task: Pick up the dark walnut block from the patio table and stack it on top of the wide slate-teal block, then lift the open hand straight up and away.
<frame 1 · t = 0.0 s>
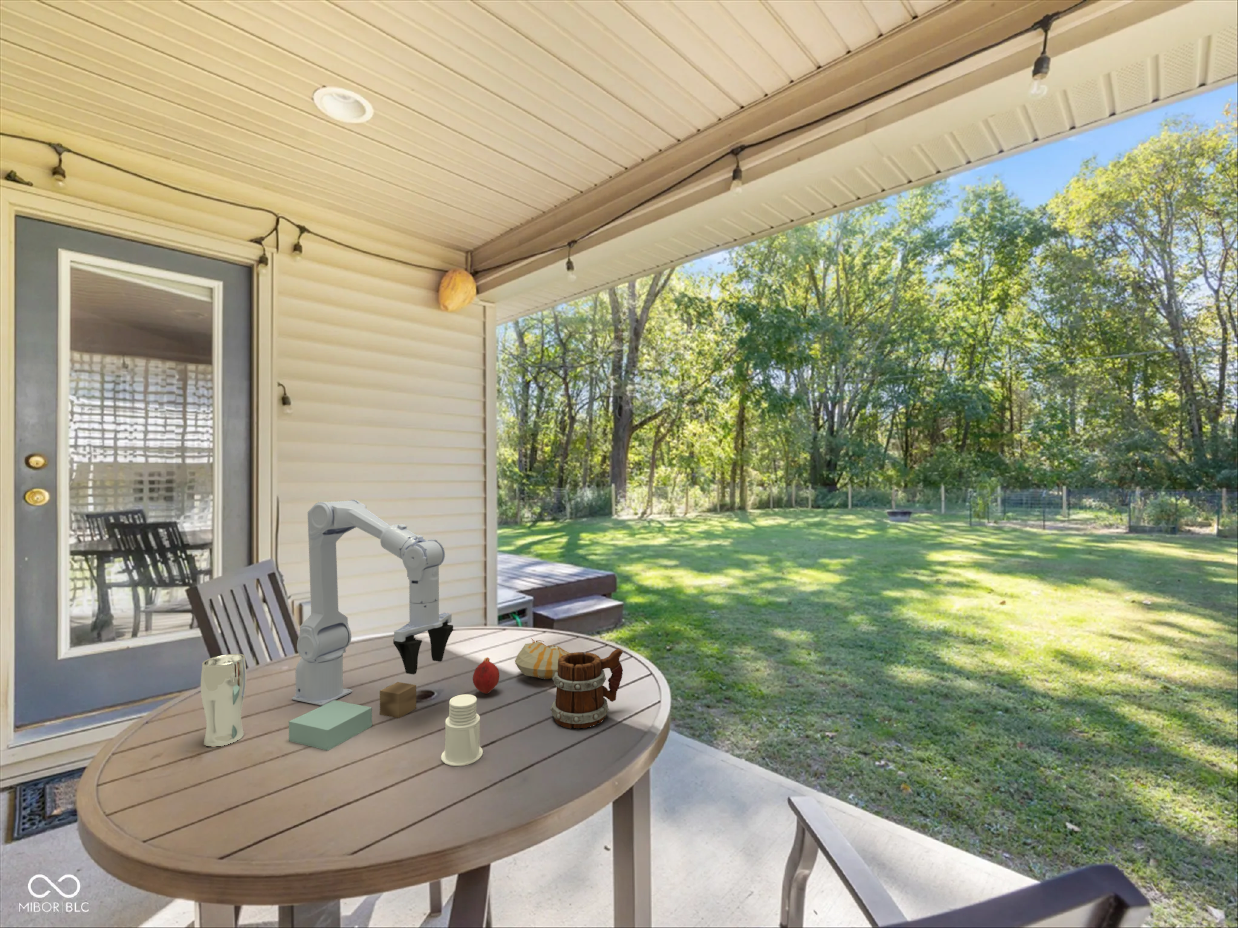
hand: (424, 666, 111), 10 cm above the table, tool pointing down, fingers open, 7 cm apart
riser block: (331, 735, 104), on the table
beer glass: (223, 740, 102), on the table
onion: (486, 694, 122), on the table
mug: (587, 716, 111), on the table
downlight: (462, 756, 96), on the table
walnut block: (398, 711, 114), on the table
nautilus: (544, 673, 135), on the table
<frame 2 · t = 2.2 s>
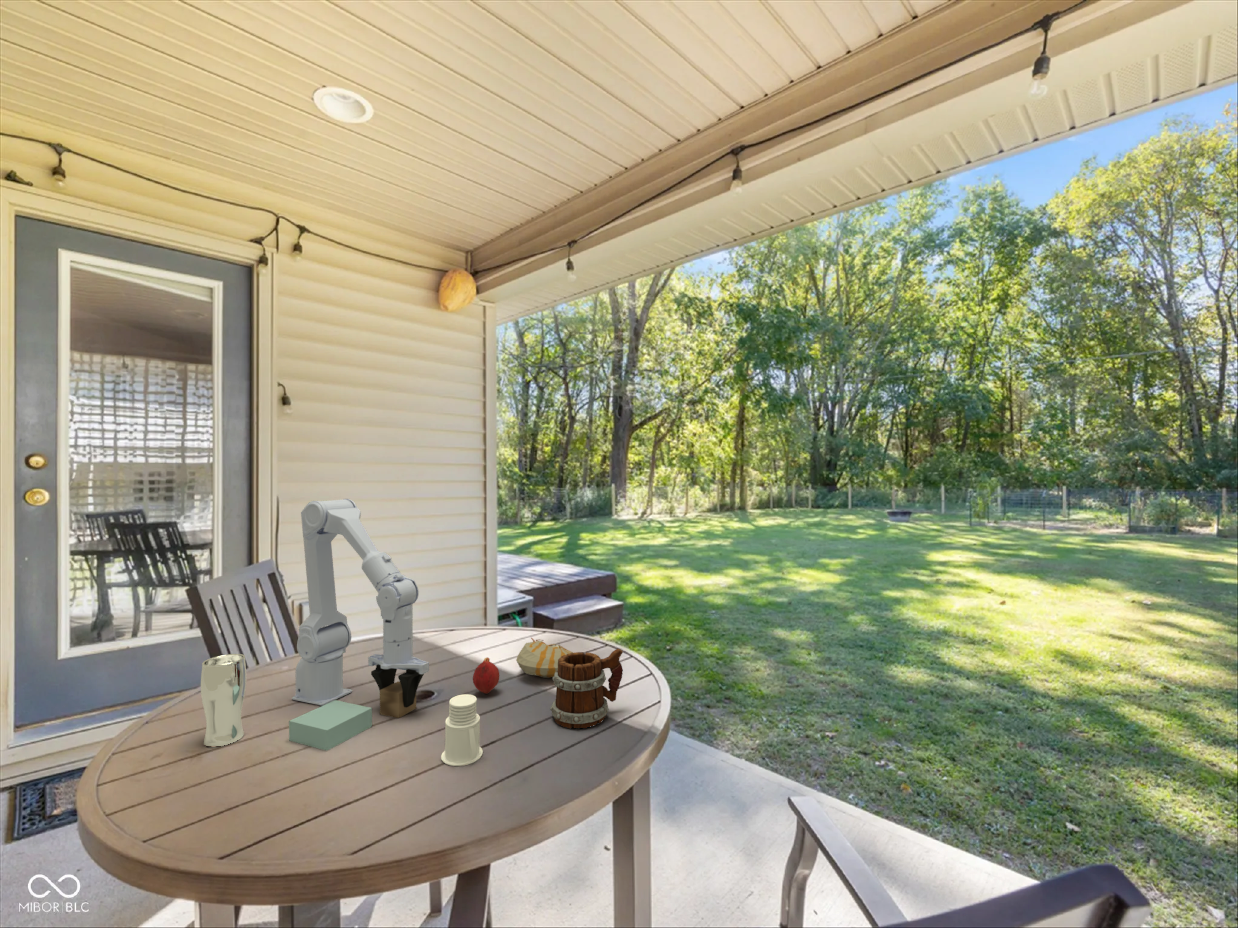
hand: (398, 703, 114), 2 cm above the table, tool pointing down, fingers closed on walnut block, 5 cm apart
walnut block: (398, 711, 114), on the table, touching gripper
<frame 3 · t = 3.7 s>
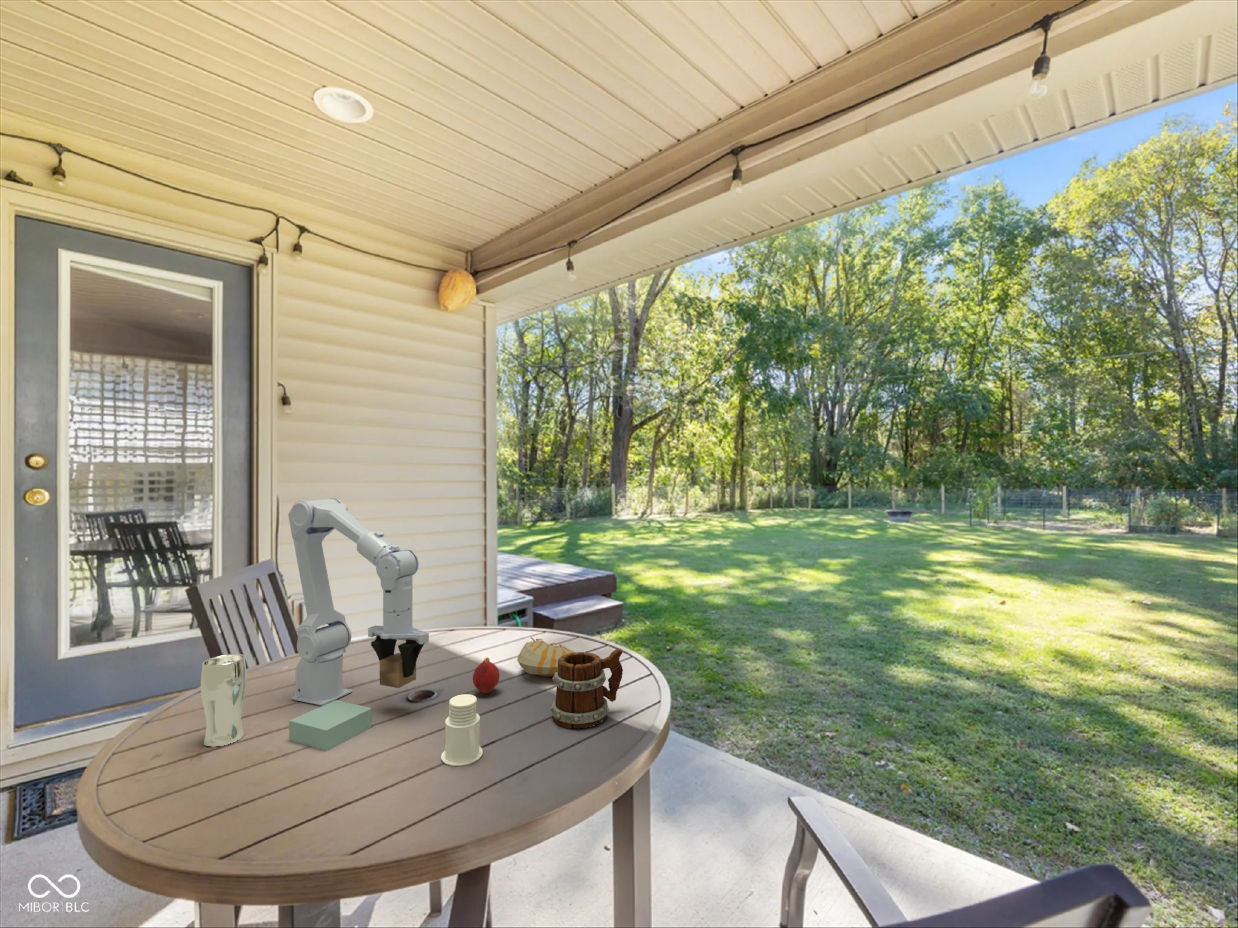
hand: (398, 674, 114), 8 cm above the table, tool pointing down, fingers closed on walnut block, 5 cm apart
walnut block: (398, 681, 114), point 6 cm above the table, touching gripper
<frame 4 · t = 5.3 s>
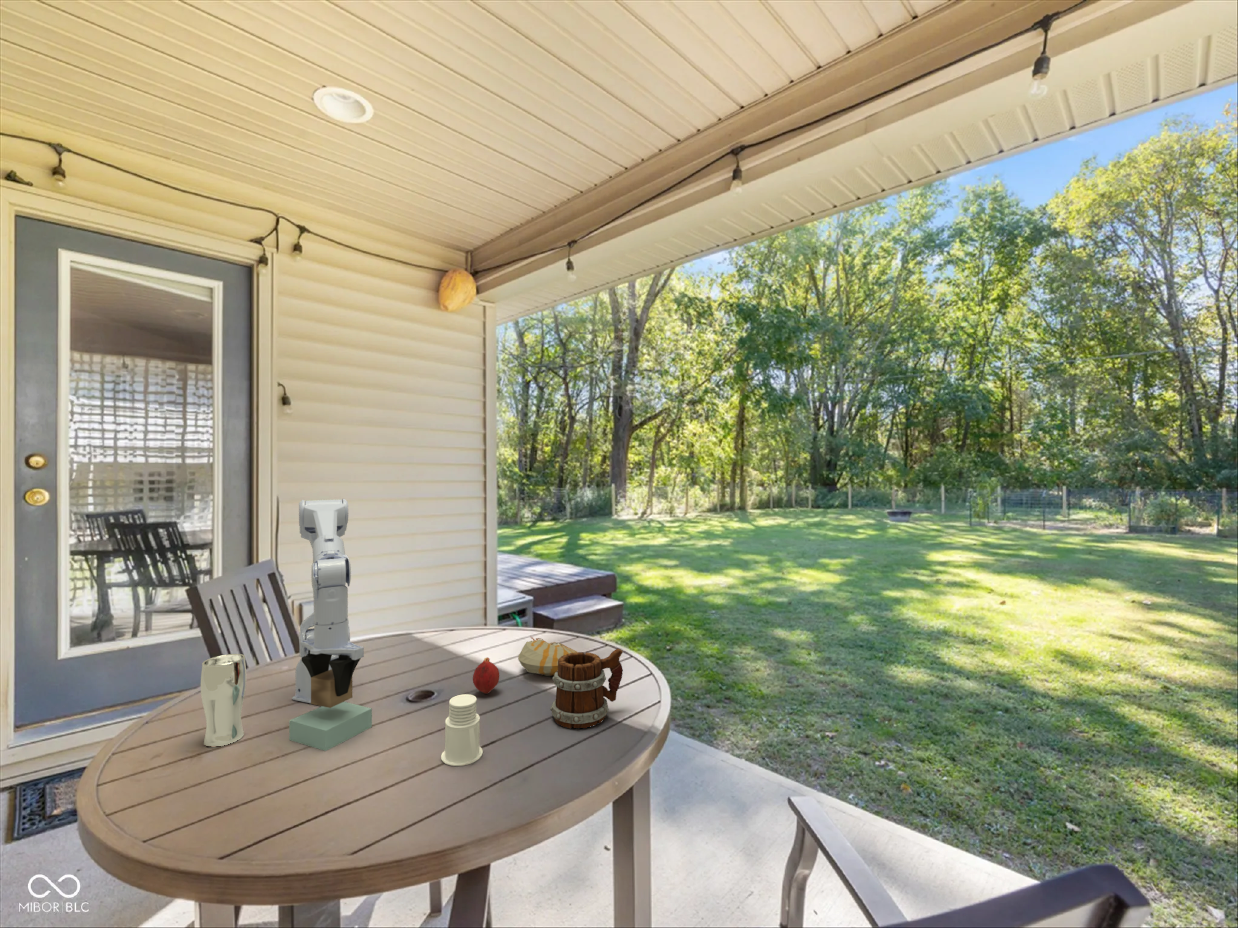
hand: (331, 692, 104), 8 cm above the table, tool pointing down, fingers closed on walnut block, 5 cm apart
walnut block: (331, 700, 105), point 6 cm above the table, touching gripper
when the fingers open (7 cm above the table, at t = 6.4 s): walnut block drops 2 cm, resting on riser block.
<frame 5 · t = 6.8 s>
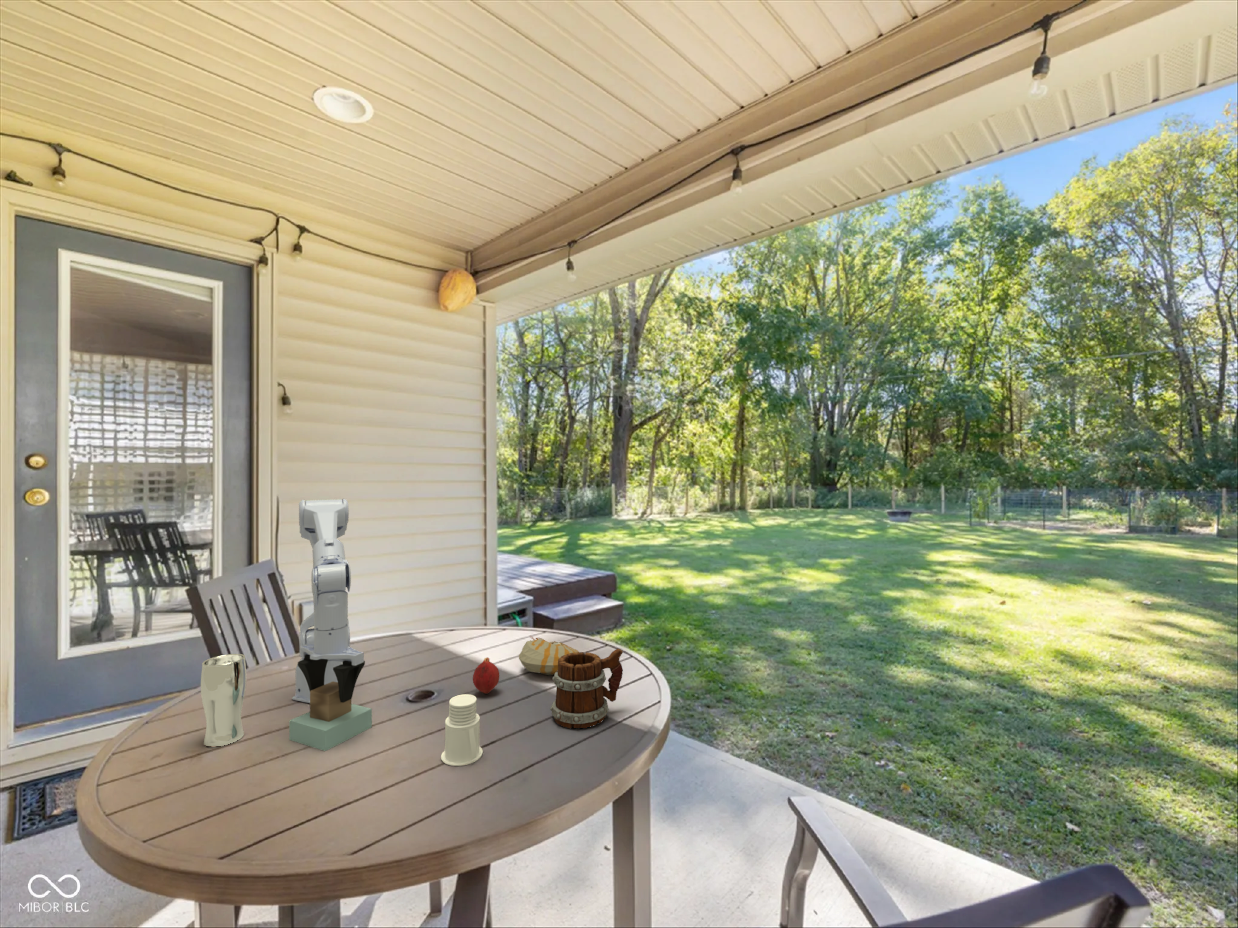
hand: (331, 697, 104), 7 cm above the table, tool pointing down, fingers open, 7 cm apart
riser block: (331, 735, 104), on the table, touching walnut block
walnut block: (330, 713, 105), point 4 cm above the table, touching riser block
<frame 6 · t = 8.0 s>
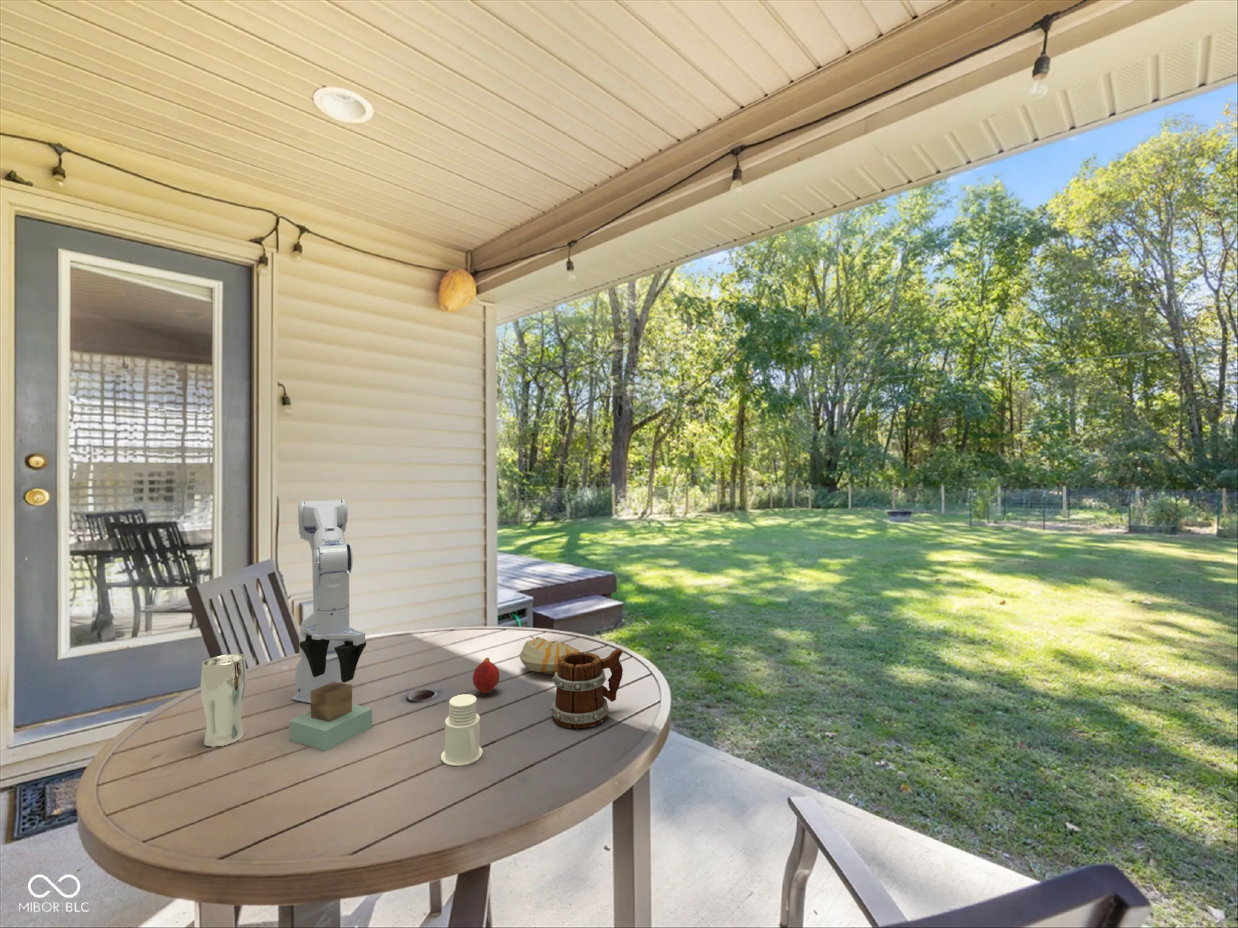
hand: (333, 677, 105), 10 cm above the table, tool pointing down, fingers open, 7 cm apart
riser block: (331, 735, 104), on the table
walnut block: (331, 714, 104), point 4 cm above the table
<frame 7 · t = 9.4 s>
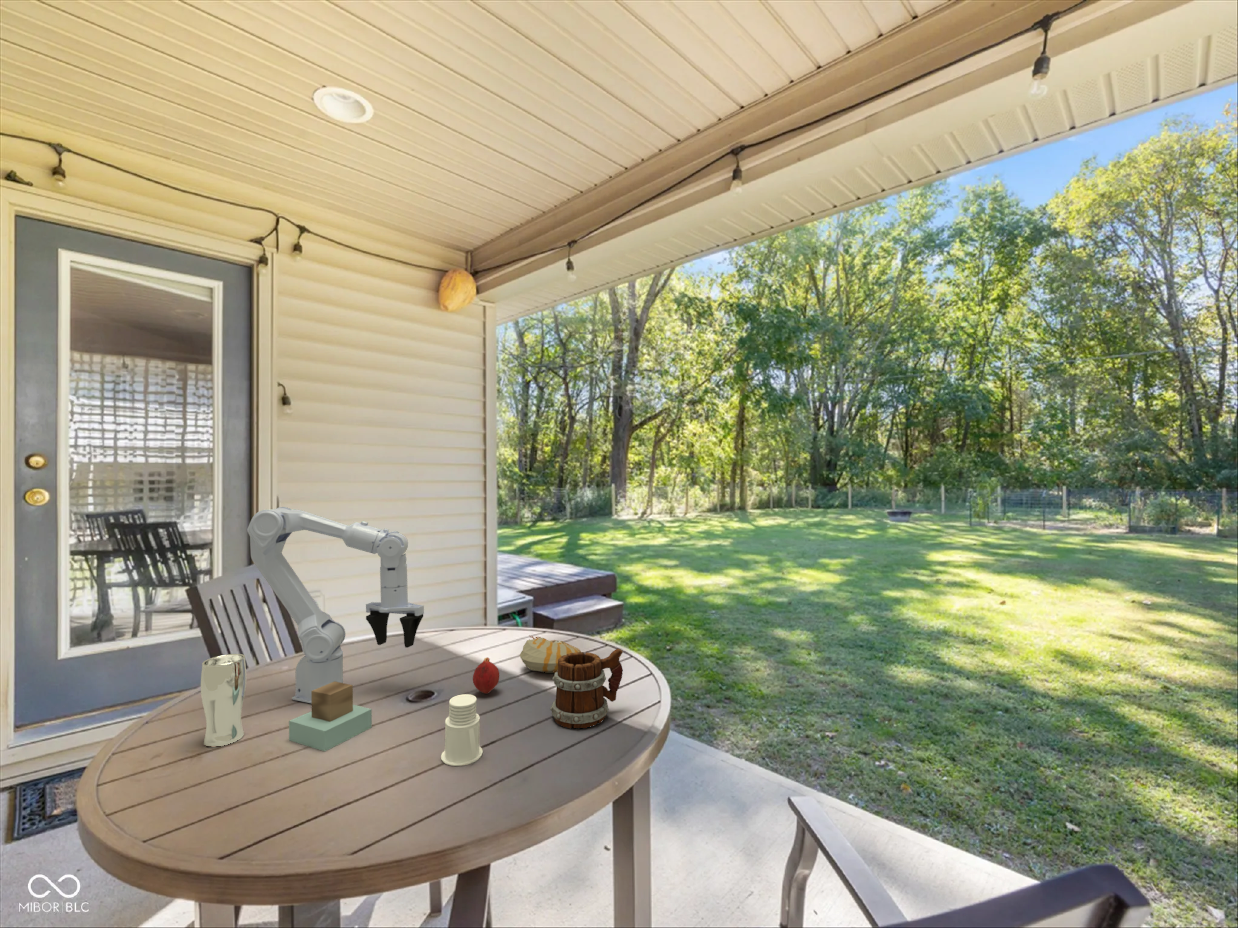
hand: (395, 644, 125), 10 cm above the table, tool pointing down, fingers open, 7 cm apart
riser block: (331, 735, 104), on the table, touching walnut block
walnut block: (332, 713, 105), point 4 cm above the table, touching riser block
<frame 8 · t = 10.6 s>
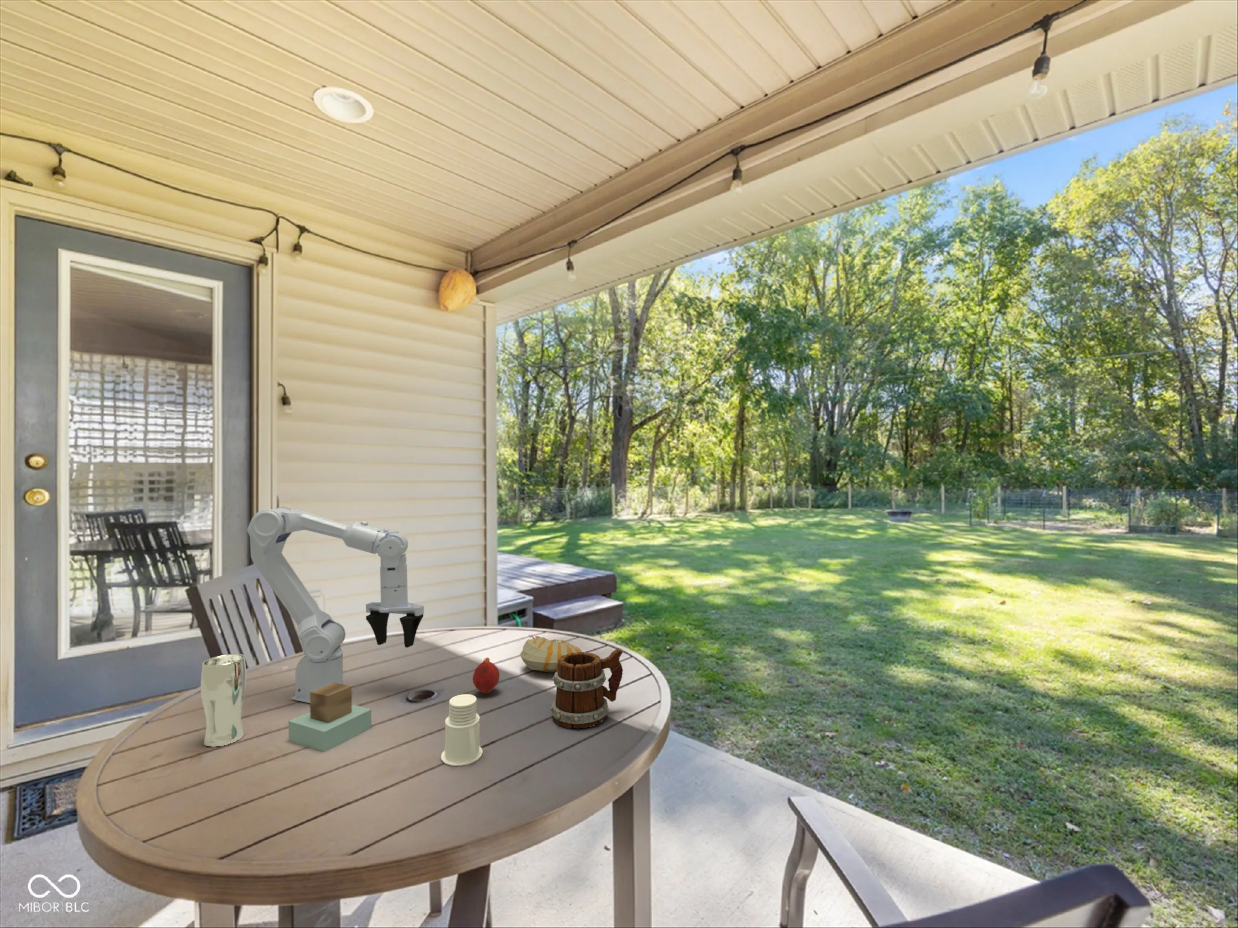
hand: (395, 644, 125), 10 cm above the table, tool pointing down, fingers open, 7 cm apart
at the end: walnut block inside the target area on the riser block (0.1 cm from its centre), point 4.0 cm above the riser block's base; walnut block touching riser block; walnut block tilted 0° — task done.
